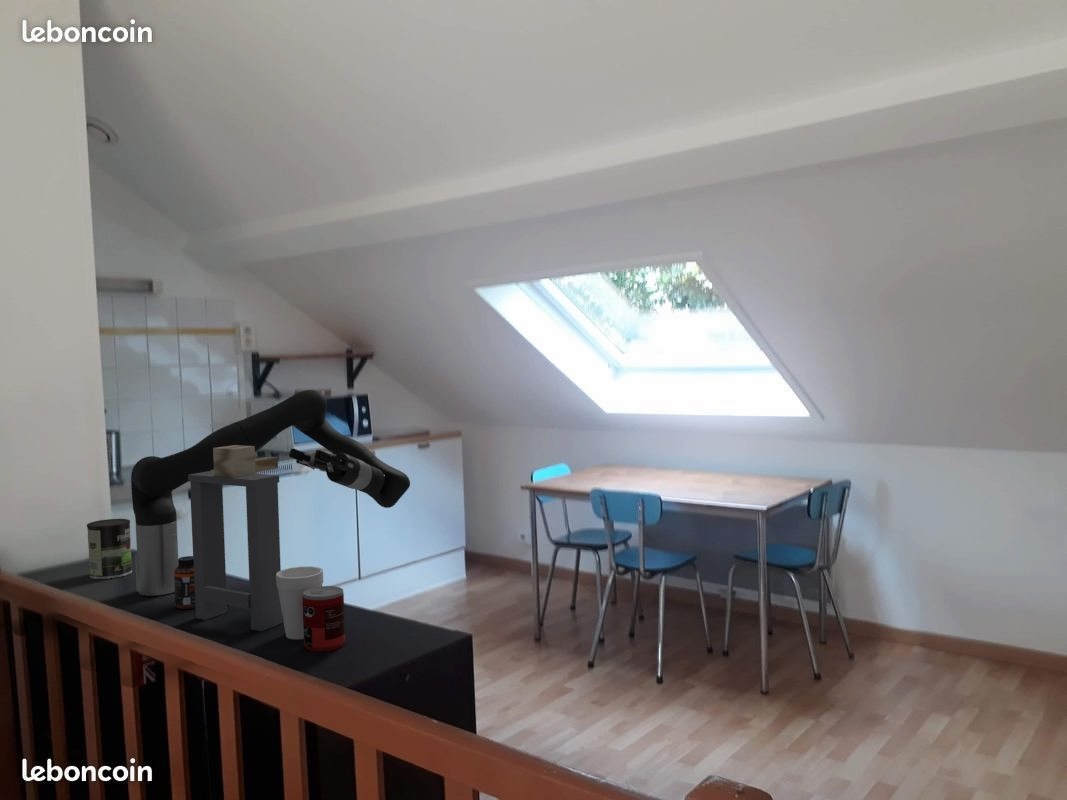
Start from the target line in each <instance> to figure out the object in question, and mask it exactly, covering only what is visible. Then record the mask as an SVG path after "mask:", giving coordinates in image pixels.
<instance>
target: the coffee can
mask: <svg viewBox="0 0 1067 800" xmlns="http://www.w3.org/2000/svg"><path fill="white" fill-rule="evenodd" d="M86 528H87V540H88V541H87V545H88V546H87V548H88V563H89V565H88V567H89V578H90V579H92V580H108V579H109V580H111V579H110V578H112V579H118V578H122V576H123V577H126V576H129V575H130V574H132V573H133V569H132V568H133V564H132V549H131V548H132V545H131V520H130V519H127V518H109V519H100V520H95V521H91V522H88V523H87V524H86ZM117 577H118V578H117Z"/></svg>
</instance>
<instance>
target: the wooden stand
mask: <svg viewBox="0 0 1067 800" xmlns="http://www.w3.org/2000/svg"><path fill="white" fill-rule="evenodd" d="M188 482H189V483H190V501H191V502H190V503H191V504H190V505H191V507H190V508H191V529H192V530H191V531H192V549H193V550H192V552H193V554H192V556H193V557H194V581H195V606H196V607H195V619H198V620H204V621H207V620H209V619H212V618H216V617H218V616H221V615H223V614H226V613H228V606H230V607H237V608H242V609H248V610H249V611H250V630H254V631H258V632H264V631H265V630H268V629H272V628H274V627H276V626H279V625H281V624H284V621H283V616H282V610H281V604H280V598H279V592H278V587H277V586H276V573H277V572H279V571H281V570H282V569H281V566H282V565H281V543H280V518H279V515H280V514H279V510H280V507H279V483H280V475H277V474H265V473H256V474H251V475H245V476H239V477H222V476H214V470H212V471H207V472H201V473H195V474H189V475H188ZM224 485H225V486H233V487H234V486H235V487H236V486H237V487H245V497H246V499H245V501H246V529H247V530H246V531H247V554H248V555H247V556H248V559H247V560H248V581H249V582H248V583H249V585H248V586H249V592H247V591H246V592H245V591H240V590H234V589H229V588H227V572H226V571H227V570H226V548H225V547H226V546H225V545H226V544H225V523H224V522H225V519H224V497H223V496H224V495H223V494H224V493H223V486H224Z"/></svg>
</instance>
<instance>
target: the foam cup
mask: <svg viewBox="0 0 1067 800" xmlns="http://www.w3.org/2000/svg"><path fill="white" fill-rule="evenodd" d="M323 584H324V569H323V568H321V567H319V566H308V565H307V566H305V565H304V566H295V567H294V566H293V567H289V568H285V569H284V568H283V569H281V571H279V572H277V573H276V586H277V587H278V592H279V598H280V604H281V610H282V622H283V625H284V626H283V627H284V634H285V636H286V638H287V639H289V640H304V629H303V603H302V595H303V592H304V591H305V590H307V589H310V588H314V587H320V586H323Z"/></svg>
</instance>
